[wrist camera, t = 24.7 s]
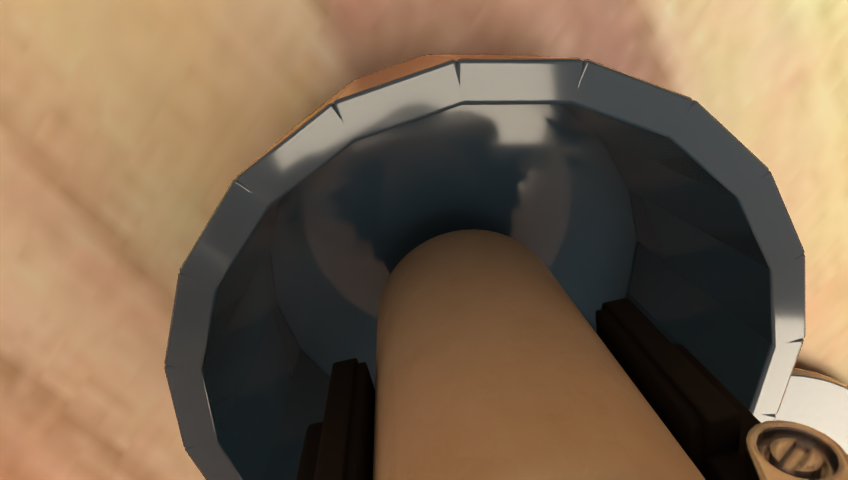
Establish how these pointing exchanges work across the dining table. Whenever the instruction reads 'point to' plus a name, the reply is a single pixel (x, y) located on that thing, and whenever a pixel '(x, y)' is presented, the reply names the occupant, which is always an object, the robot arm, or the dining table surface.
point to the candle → (503, 376)
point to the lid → (817, 404)
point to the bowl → (484, 210)
